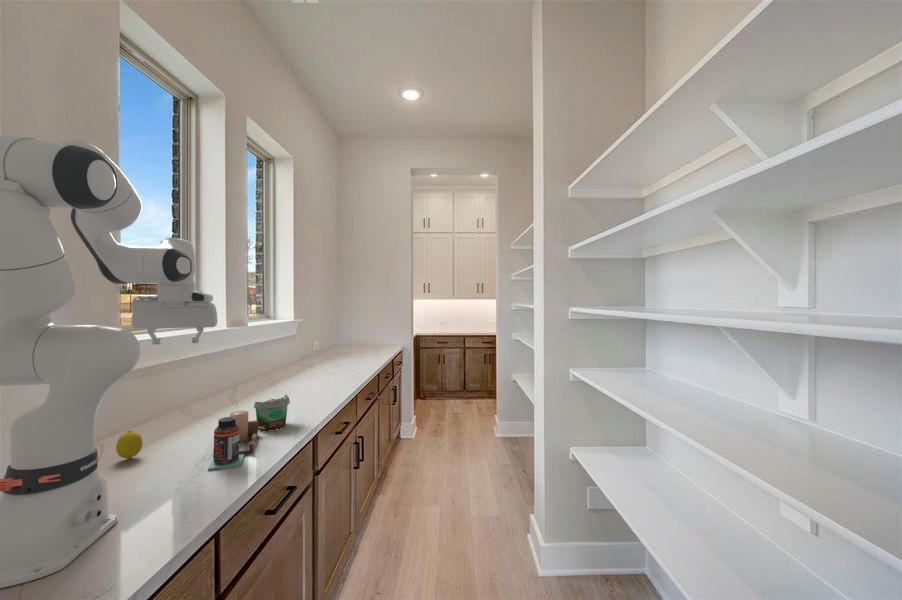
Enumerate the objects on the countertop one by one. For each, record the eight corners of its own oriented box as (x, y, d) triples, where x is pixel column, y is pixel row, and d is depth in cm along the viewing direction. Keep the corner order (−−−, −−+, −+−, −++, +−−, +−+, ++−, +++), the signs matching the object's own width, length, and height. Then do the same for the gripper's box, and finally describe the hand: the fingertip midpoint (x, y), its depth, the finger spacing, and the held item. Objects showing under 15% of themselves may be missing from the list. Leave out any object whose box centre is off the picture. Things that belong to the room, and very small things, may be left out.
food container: (264, 435, 126) (264, 404, 126) (253, 431, 129) (253, 401, 129) (297, 425, 136) (297, 396, 136) (286, 422, 139) (286, 394, 139)
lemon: (127, 464, 103) (127, 434, 103) (110, 462, 104) (110, 432, 104) (147, 456, 108) (147, 427, 108) (131, 454, 109) (131, 426, 109)
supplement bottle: (207, 463, 102) (208, 420, 102) (227, 455, 108) (227, 414, 108) (225, 466, 101) (226, 423, 101) (244, 458, 106) (244, 416, 106)
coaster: (240, 466, 102) (241, 464, 102) (207, 470, 99) (207, 468, 99) (244, 455, 109) (244, 453, 109) (213, 459, 106) (213, 457, 106)
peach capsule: (247, 444, 118) (247, 414, 118) (228, 446, 116) (228, 416, 116) (248, 438, 123) (249, 410, 123) (230, 440, 121) (231, 411, 121)
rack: (252, 454, 110) (253, 436, 110) (213, 459, 106) (213, 441, 106) (257, 435, 125) (257, 420, 125) (223, 439, 122) (223, 423, 122)
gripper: (127, 295, 105) (127, 346, 105) (214, 295, 113) (214, 343, 113) (136, 295, 111) (135, 343, 111) (218, 296, 118) (218, 341, 118)
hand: (176, 343), depth 112 cm, fingers open, 8 cm apart
